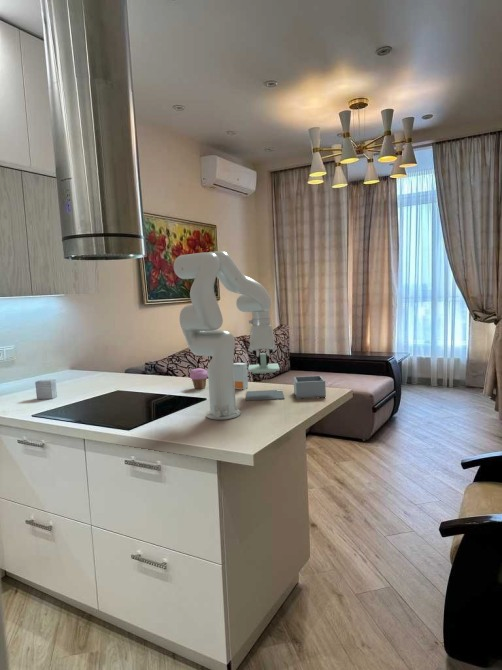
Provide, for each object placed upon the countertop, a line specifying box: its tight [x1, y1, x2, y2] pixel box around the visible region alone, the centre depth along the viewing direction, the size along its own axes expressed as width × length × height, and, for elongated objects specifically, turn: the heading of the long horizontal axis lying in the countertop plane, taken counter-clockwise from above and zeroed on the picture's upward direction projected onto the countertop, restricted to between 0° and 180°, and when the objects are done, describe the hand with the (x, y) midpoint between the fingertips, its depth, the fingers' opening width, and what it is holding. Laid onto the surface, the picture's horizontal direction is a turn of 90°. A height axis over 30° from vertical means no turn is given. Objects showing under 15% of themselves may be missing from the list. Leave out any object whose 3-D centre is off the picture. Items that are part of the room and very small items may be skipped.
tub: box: [293, 375, 327, 400], centre depth 187 cm, size 12×12×7 cm
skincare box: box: [233, 362, 249, 390], centre depth 207 cm, size 6×4×12 cm
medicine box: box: [34, 378, 58, 400], centre depth 209 cm, size 8×4×9 cm, turn 84°
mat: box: [245, 389, 285, 402], centre depth 191 cm, size 16×16×1 cm
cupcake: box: [189, 367, 208, 390], centre depth 213 cm, size 9×9×10 cm
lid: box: [247, 352, 280, 374], centre depth 190 cm, size 13×13×7 cm
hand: (263, 364), depth 190 cm, fingers closed on lid
